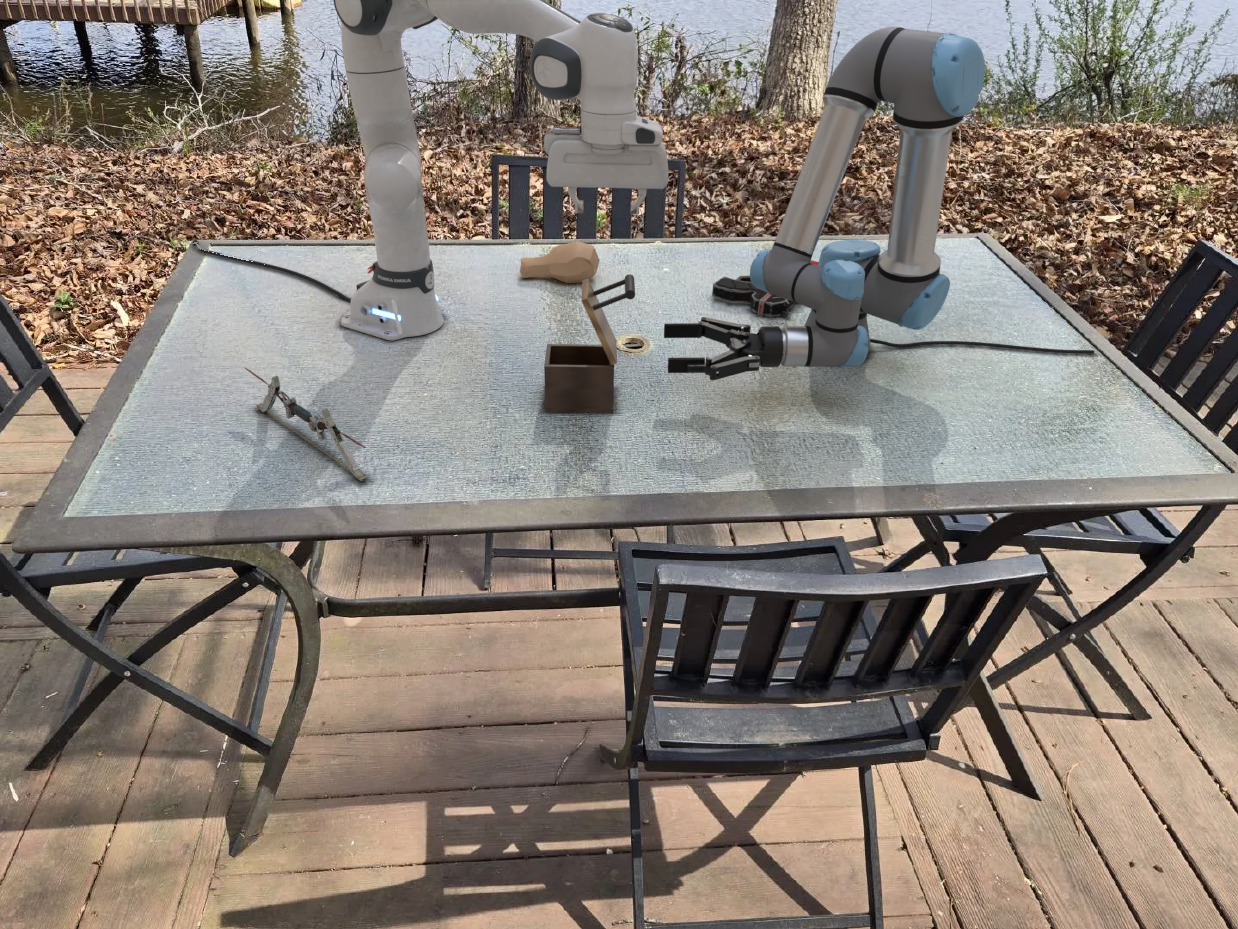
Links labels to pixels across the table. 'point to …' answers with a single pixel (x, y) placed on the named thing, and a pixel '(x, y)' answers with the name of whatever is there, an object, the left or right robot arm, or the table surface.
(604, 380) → the chest
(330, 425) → the bow
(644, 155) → the left robot arm
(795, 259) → the right robot arm
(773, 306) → the gun
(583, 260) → the squash
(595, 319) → the lid
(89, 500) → the table surface
